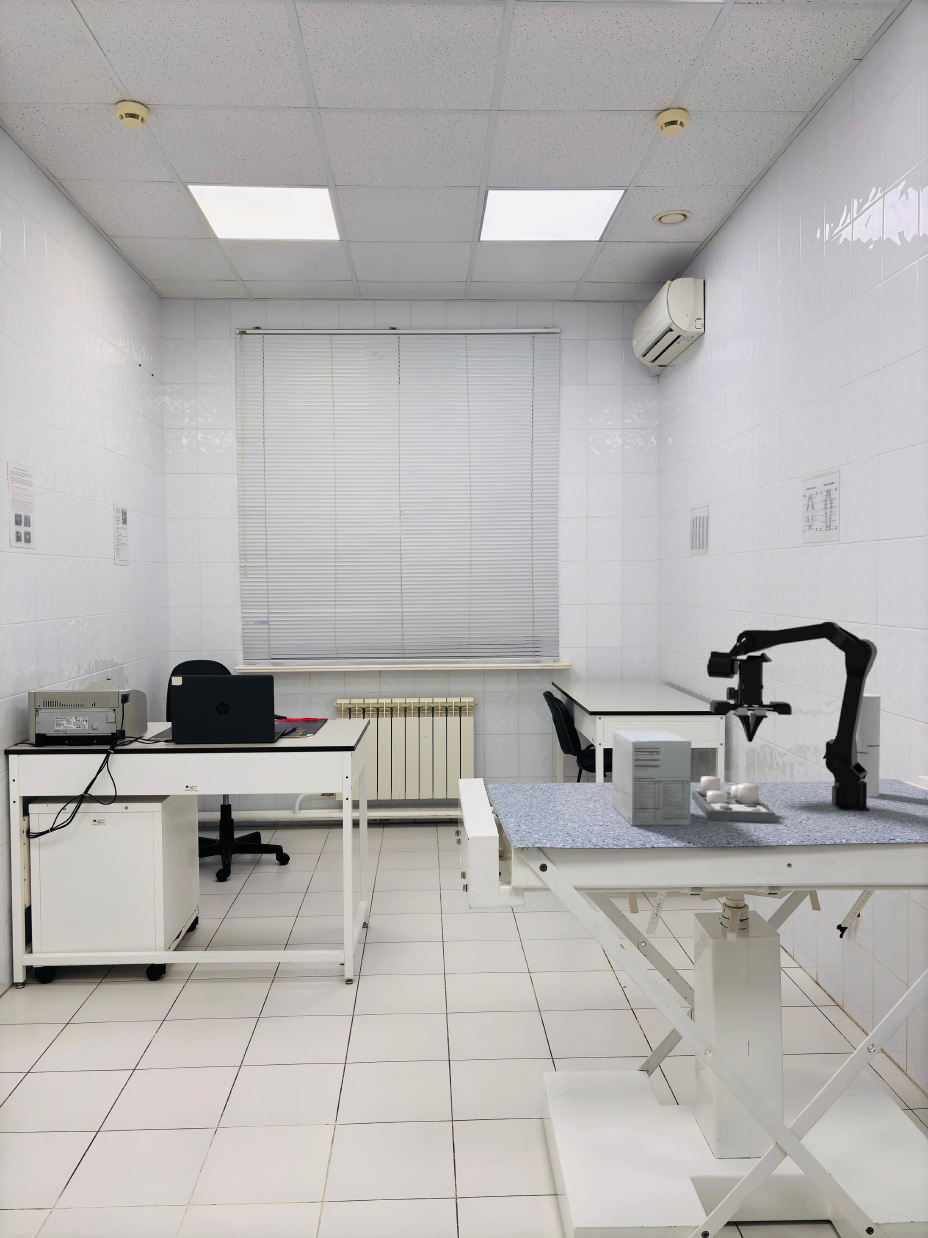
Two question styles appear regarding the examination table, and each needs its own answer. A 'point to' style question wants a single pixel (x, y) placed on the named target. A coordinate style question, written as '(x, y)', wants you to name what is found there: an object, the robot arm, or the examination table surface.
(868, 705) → the cylindrical container
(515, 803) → the examination table surface
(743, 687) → the robot arm
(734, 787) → the button
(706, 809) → the button board
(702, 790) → the button
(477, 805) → the examination table surface
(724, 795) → the button
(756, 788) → the button
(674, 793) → the supplement box
